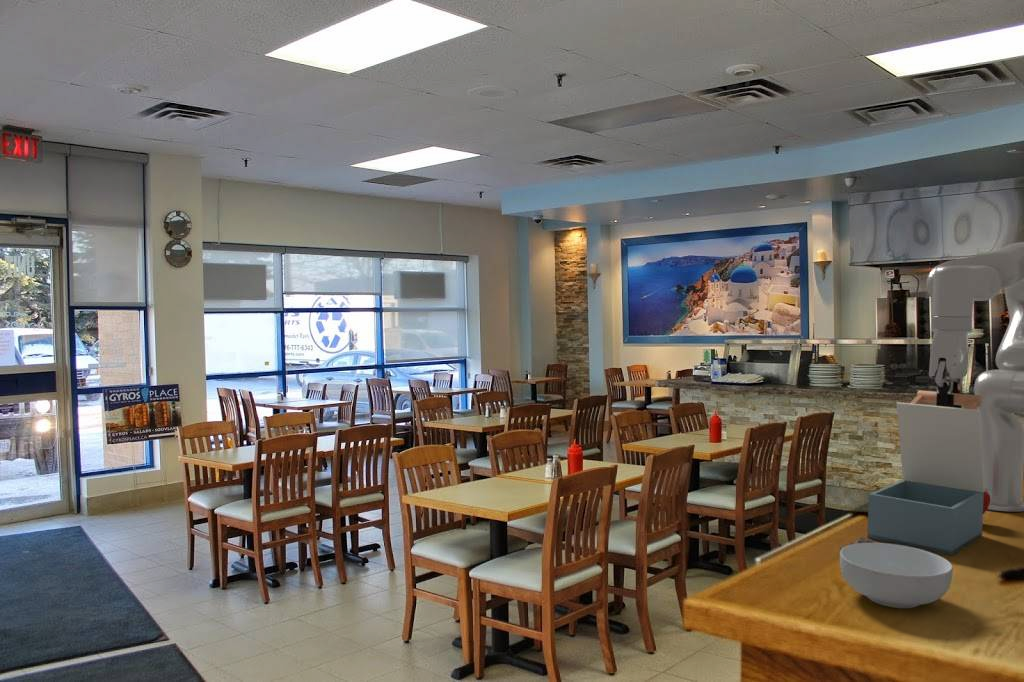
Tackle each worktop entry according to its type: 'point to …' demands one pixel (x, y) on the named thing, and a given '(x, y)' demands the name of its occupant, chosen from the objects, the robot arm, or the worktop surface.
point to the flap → (941, 441)
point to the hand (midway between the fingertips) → (948, 410)
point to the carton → (925, 516)
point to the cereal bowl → (895, 573)
